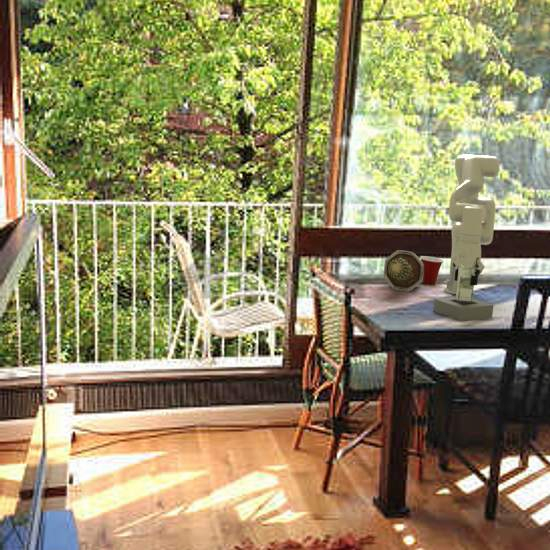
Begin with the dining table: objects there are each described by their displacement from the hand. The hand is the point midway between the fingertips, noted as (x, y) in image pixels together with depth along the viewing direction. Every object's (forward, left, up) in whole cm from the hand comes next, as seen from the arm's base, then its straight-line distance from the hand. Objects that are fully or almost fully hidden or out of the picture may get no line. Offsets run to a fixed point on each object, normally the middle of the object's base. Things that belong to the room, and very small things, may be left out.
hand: (465, 282), depth 298 cm
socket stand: (0, 0, -13) cm, 13 cm away
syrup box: (0, 0, -7) cm, 7 cm away
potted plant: (-41, +3, -13) cm, 43 cm away
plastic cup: (-48, +26, -13) cm, 56 cm away
